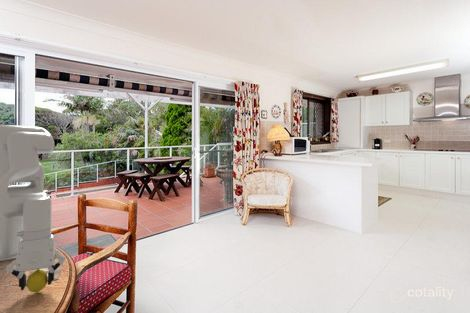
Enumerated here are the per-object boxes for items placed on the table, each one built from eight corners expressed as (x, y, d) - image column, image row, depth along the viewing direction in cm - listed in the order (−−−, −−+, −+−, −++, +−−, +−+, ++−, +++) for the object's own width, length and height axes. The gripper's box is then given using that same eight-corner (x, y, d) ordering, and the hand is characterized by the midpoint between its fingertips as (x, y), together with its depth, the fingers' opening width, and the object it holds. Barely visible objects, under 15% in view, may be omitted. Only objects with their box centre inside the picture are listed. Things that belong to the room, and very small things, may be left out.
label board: (33, 268, 99) (33, 267, 99) (63, 263, 104) (63, 262, 104) (23, 286, 87) (23, 285, 87) (58, 279, 91) (58, 278, 91)
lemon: (35, 298, 80) (36, 274, 80) (22, 296, 81) (22, 272, 81) (51, 289, 85) (52, 266, 85) (38, 287, 86) (39, 264, 86)
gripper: (-2, 241, 75) (-2, 298, 75) (66, 233, 83) (66, 284, 84) (6, 233, 81) (6, 286, 82) (69, 226, 90) (68, 274, 90)
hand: (37, 285), depth 83 cm, fingers open, 6 cm apart
